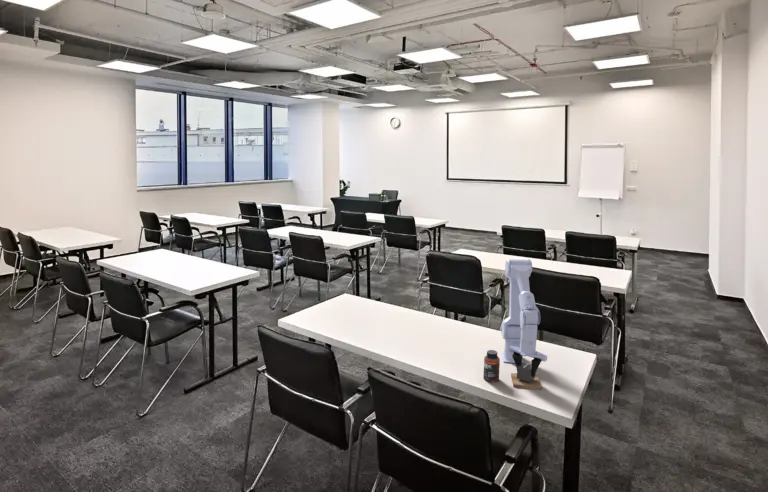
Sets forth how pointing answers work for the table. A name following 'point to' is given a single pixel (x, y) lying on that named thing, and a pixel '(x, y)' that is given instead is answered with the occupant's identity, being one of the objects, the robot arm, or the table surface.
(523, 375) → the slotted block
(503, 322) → the robot arm
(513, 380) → the block
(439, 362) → the table surface
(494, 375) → the supplement bottle
